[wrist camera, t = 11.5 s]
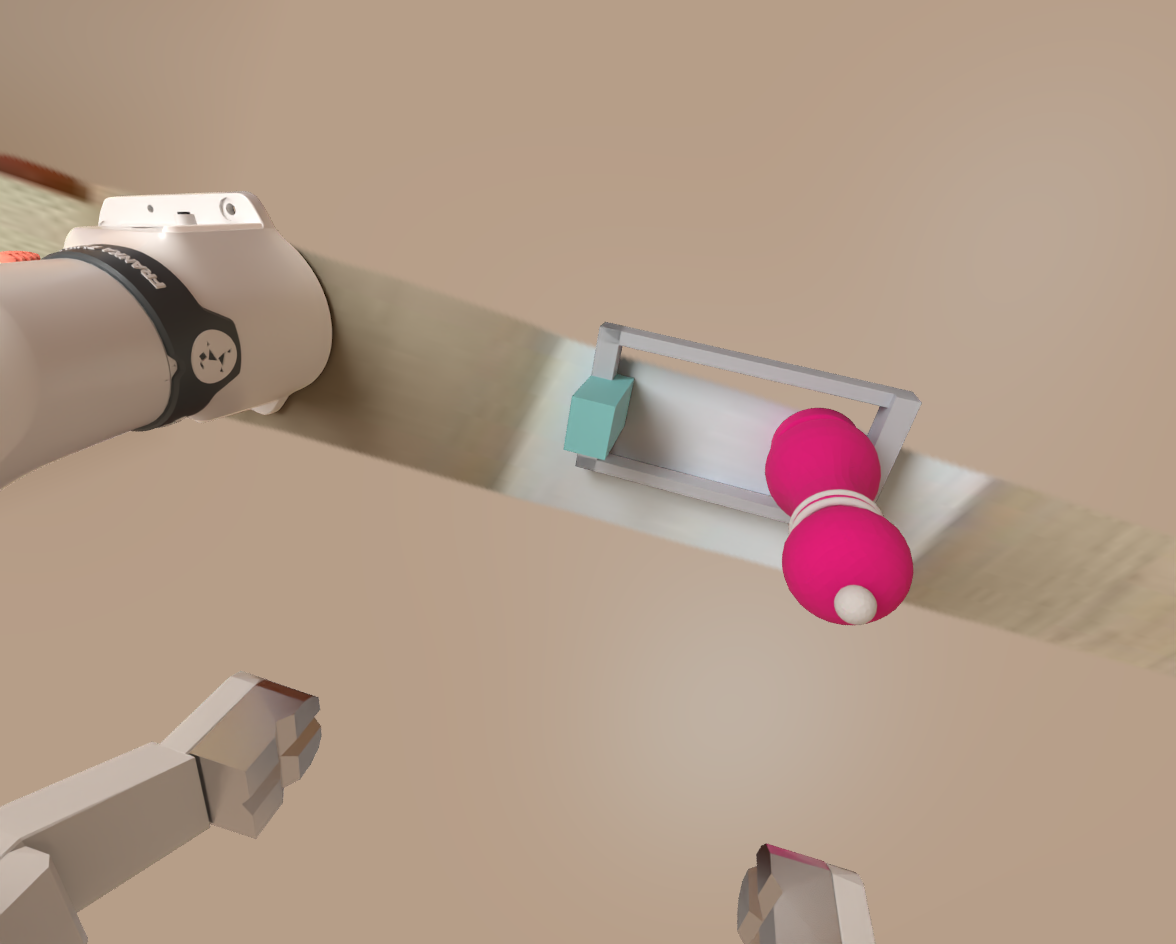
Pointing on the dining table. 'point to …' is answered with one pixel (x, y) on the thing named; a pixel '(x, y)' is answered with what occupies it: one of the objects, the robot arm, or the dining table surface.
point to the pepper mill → (836, 520)
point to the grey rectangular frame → (608, 393)
